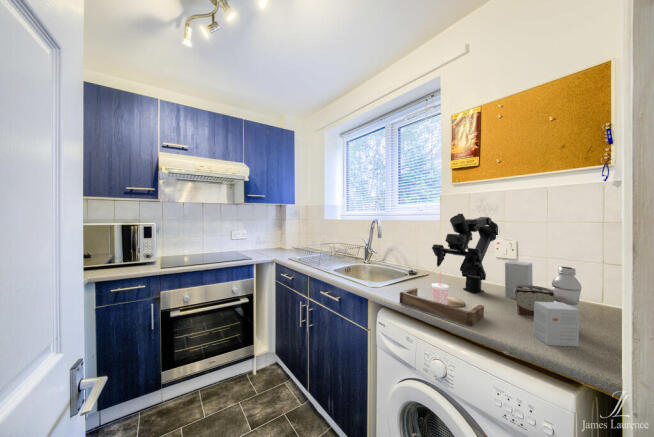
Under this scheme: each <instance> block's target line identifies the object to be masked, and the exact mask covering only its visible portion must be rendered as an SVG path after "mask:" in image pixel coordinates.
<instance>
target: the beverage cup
mask: <svg viewBox="0 0 654 437" xmlns="http://www.w3.org/2000/svg"><path fill="white" fill-rule="evenodd" d="M441 272H442V271H440V272H439V282H433V283H431V287H432V288H431V289H432V301H435V302H438V303H442V304H445V305H447V297H449V296H448V294H449V288H450V286H449V285H448V284H446V283H442V273H441Z"/></svg>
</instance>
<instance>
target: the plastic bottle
mask: <svg viewBox="0 0 654 437" xmlns="http://www.w3.org/2000/svg"><path fill="white" fill-rule="evenodd" d="M557 273H558V275H557V276H555V277H554V278H553V279H552V282H551V287H552V288H551V289H552V290H553V294H554V302H562V303H565V304H567V305H569V306H572V307H574V308H576V309H578V310H579V311H580V309H579V303H580V297H581V292H582V284H581V283H580V281H579V280H578V279H577V277H575V276H576V275H577V272H576V268H575V267H572V266H571V267H570V266H558V271H557ZM581 330H582V322H581V320H580V318H579V333H581Z"/></svg>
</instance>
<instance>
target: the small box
mask: <svg viewBox="0 0 654 437" xmlns="http://www.w3.org/2000/svg"><path fill="white" fill-rule="evenodd" d="M578 309H579V308H578ZM578 309H576V308H574V307H572V306H569V305H567V304H565V303H562V302H534V317H533V336H534V337H536V338H537V340H540V341H541V342H543V343H544V344H545V345H548V346H554V347H555V346H557V347H560V346H561V347H575V348H576V347H579V345H580V332H579V319H580V309H579V310H578Z"/></svg>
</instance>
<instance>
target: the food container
mask: <svg viewBox="0 0 654 437" xmlns="http://www.w3.org/2000/svg"><path fill="white" fill-rule="evenodd" d="M513 292H514V293H515V292H516V299H515V300H516V301H515V302H516V308H517V309H516V310H517V316H519V317H527V318H528V317H529V318H534V302H554V294H553V289H552V288H548V287H543V286H538V285H534V284H533V285H516V286H515V288H514V291H513Z"/></svg>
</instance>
